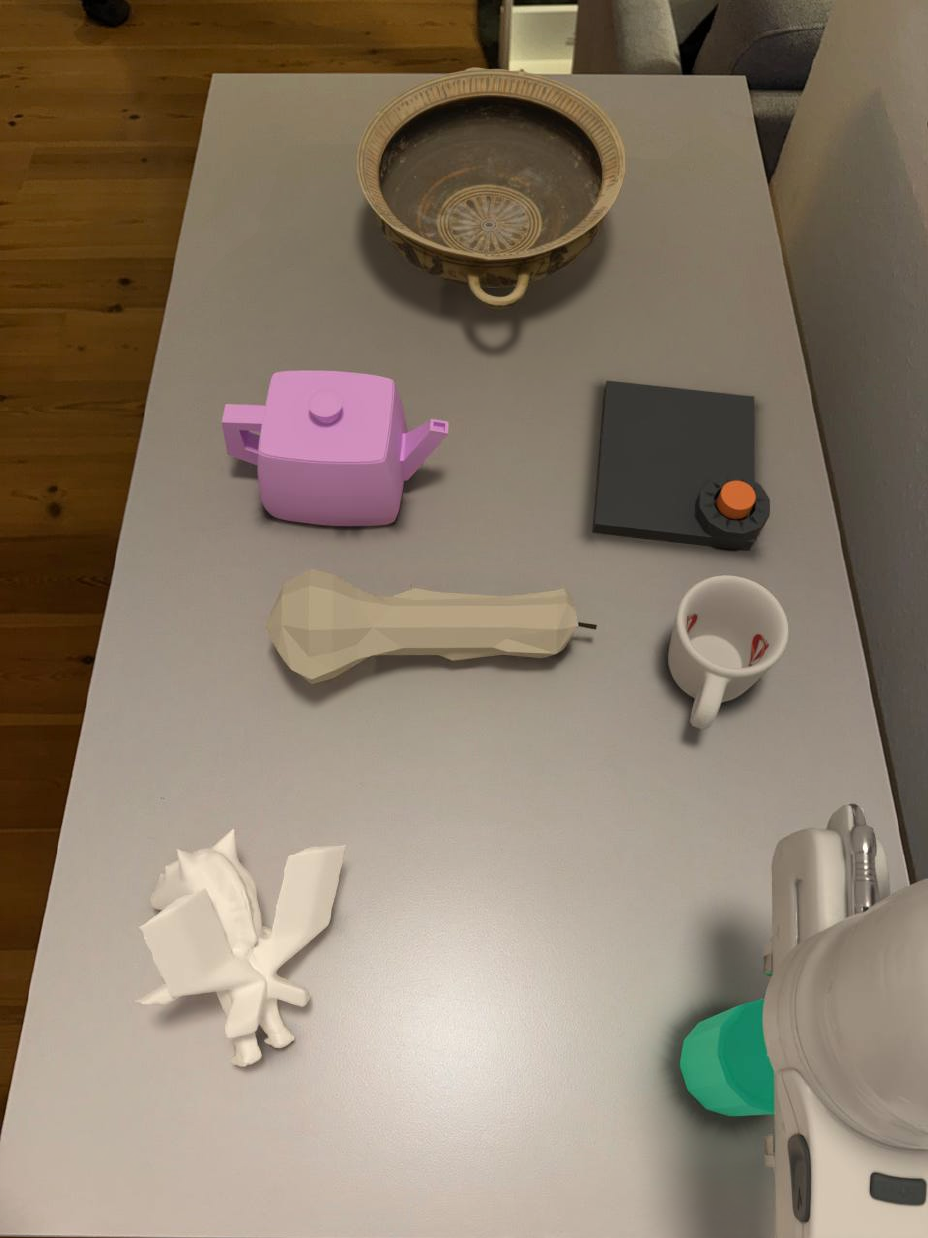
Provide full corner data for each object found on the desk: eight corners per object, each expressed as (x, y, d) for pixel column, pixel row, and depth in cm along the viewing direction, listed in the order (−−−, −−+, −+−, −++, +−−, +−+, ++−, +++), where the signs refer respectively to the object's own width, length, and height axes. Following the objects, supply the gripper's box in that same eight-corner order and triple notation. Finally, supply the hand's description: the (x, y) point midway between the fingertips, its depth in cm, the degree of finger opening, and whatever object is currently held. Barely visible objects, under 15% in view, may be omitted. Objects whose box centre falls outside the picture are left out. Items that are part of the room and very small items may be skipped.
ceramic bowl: (363, 139, 106) (355, 47, 97) (593, 133, 107) (606, 42, 98) (365, 367, 92) (356, 286, 84) (628, 359, 93) (647, 278, 84)
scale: (759, 407, 91) (769, 385, 88) (760, 555, 84) (770, 536, 82) (604, 390, 92) (609, 367, 89) (592, 536, 85) (597, 516, 82)
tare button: (750, 492, 84) (756, 482, 82) (750, 521, 83) (756, 511, 81) (716, 488, 84) (721, 478, 83) (716, 517, 83) (720, 507, 81)
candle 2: (272, 585, 81) (584, 582, 83) (272, 692, 80) (589, 686, 82) (259, 558, 73) (606, 555, 74) (257, 677, 71) (613, 671, 73)
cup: (739, 763, 76) (769, 725, 69) (636, 730, 77) (655, 689, 70) (768, 639, 81) (799, 592, 74) (670, 610, 82) (691, 560, 75)
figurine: (301, 1002, 75) (249, 816, 76) (396, 1006, 67) (337, 797, 68) (108, 1101, 65) (52, 884, 66) (193, 1120, 57) (127, 872, 58)
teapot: (452, 433, 89) (452, 354, 80) (443, 537, 85) (443, 465, 75) (247, 422, 90) (224, 341, 80) (227, 524, 85) (200, 451, 76)
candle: (785, 1048, 67) (849, 1032, 57) (749, 1136, 65) (808, 1136, 54) (702, 998, 69) (749, 974, 58) (663, 1083, 66) (705, 1074, 56)
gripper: (797, 783, 48) (722, 856, 60) (809, 1304, 38) (717, 1264, 51) (933, 801, 47) (830, 870, 60) (978, 1329, 38) (845, 1282, 51)
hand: (778, 1054), depth 55 cm, fingers open, 8 cm apart
